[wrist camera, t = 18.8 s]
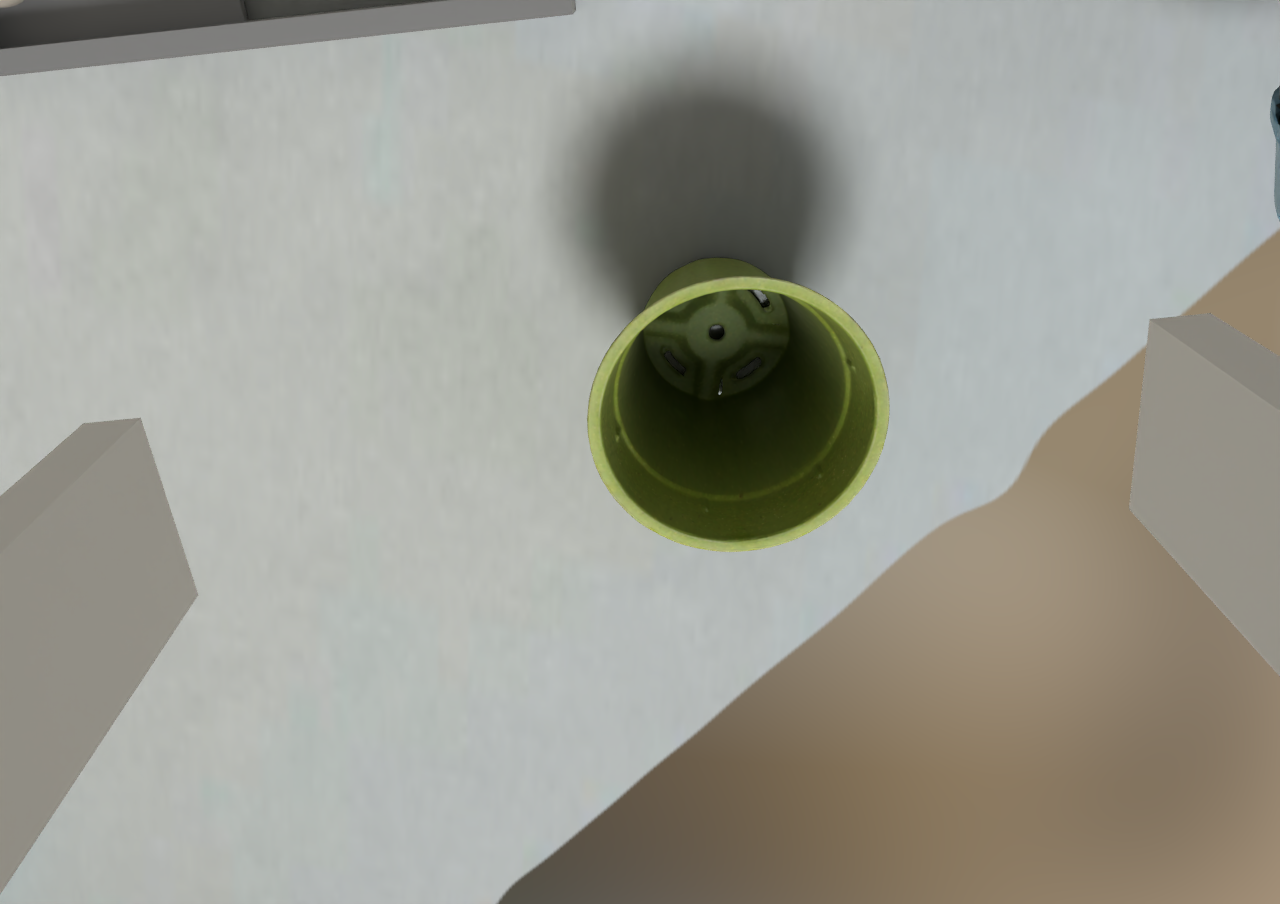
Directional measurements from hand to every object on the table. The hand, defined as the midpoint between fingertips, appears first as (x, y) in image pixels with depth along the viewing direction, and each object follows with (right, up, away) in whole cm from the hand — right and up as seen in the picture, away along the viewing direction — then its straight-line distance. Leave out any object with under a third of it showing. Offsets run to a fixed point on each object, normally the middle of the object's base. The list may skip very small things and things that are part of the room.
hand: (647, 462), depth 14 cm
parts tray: (-17, +25, +29) cm, 41 cm away
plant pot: (+4, +6, +38) cm, 39 cm away
